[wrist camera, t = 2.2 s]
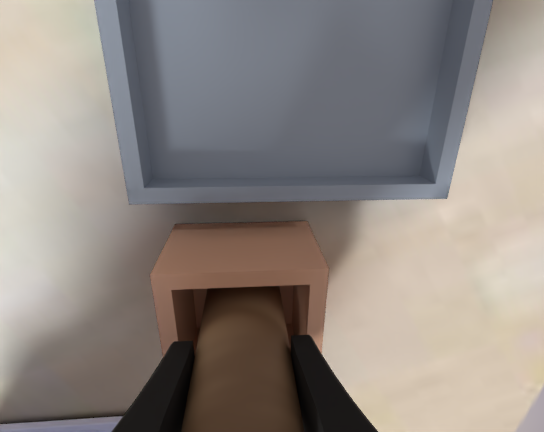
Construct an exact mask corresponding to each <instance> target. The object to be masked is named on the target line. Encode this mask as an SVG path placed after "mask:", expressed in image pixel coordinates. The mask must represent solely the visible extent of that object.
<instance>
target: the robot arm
mask: <svg viewBox="0 0 544 432" xmlns="http://www.w3.org/2000/svg"><path fill="white" fill-rule="evenodd" d="M290 352H291V358H292V364H293V369H294V375H295V381H296V386H297V392H298V398H299V404H300V409H301V415H302V421H303V427H304V432H378V431H377V430H376V429H375V427H374V426H373V425H372V424H371V423H370V421H369V420H368V419H367V418H366V416H365V415H364V414H363V413H362V411H361V410H360V409H359V408H358V406H357V405H356V404H355V402H354V401H353V400H352V398H351V397H350V396H349V394H348V393H347V392H346V390H345V389H344V387H343V386H342V384H341V383H340V382H339V380H338V379H337V377H336V376H335V374H334V373H333V371H332V370H331V368H330V367H329V365H328V364H327V362H326V360H325V359H324V357H323V356H322V354H321V352H320V351H319V349H318V347H317V345H316V344H315V342H314V340H313V338H312V337H311V336H310V335H291V350H290ZM194 359H195V355H194V346H193V341H174V342H173V343H172V344H171V345H170V347H169V348H168V350H167V352H166V354H165V355H164V357H163V359H162V360H161V362H160V363H159V365H158V367H157V368H156V370H155V371H154V373H153V374H152V376H151V378H150V379H149V381H148V382H147V383H146V385H145V386H144V388H143V389H142V391H141V392H140V394H139V395H138V397H137V398H136V399H135V401H134V402H133V404H132V405H131V406H130V408H129V409H128V410H127V412H126V413H125V414H124V416H115V417H101V418H86V419H71V420H57V421H42V422H27V423H12V424H0V432H181V430H182V424H183V419H184V413H185V408H186V402H187V397H188V391H189V386H190V381H191V375H192V370H193V364H194Z"/></svg>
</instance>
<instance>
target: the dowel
mask: <svg viewBox="0 0 544 432" xmlns="http://www.w3.org/2000/svg"><path fill="white" fill-rule="evenodd" d="M181 432H304V427H303V421H302V415H301V409H300V404H299V398H298V392H297V386H296V381H295V375H294V369H293V364H292V358H291V352H290V346H289V340H288V334H287V328H286V322H285V317H284V311H283V305H282V299H281V293H280V288H279V286H259V287H233V288H207V293H206V299H205V304H204V310H203V315H202V321H201V326H200V332H199V337H198V342H197V348H196V353H195V359H194V364H193V370H192V375H191V381H190V386H189V391H188V397H187V402H186V408H185V413H184V419H183V424H182V430H181Z"/></svg>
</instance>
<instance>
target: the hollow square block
mask: <svg viewBox="0 0 544 432" xmlns="http://www.w3.org/2000/svg"><path fill="white" fill-rule="evenodd" d="M328 275H329V267H328V265H327V263H326V261H325V259H324V257H323V254H322V252H321V250H320V248H319V246H318V244H317V241H316V239H315V237H314V235H313V233H312V230H311V228H310V226H309V224H308V222H307V221H291V222H248V223H204V224H175V225H174V227H173V229H172V231H171V233H170V235H169V237H168V239H167V241H166V243H165V245H164V247H163V250H162V252H161V254H160V256H159V258H158V260H157V262H156V264H155V266H154V268H153V270H152V272H151V274H150V279H151V285H152V291H153V298H154V304H155V310H156V317H157V323H158V329H159V335H160V342H161V348H162V354H163V357H164V355H165V354H166V352H167V350H168V348H169V347H170V345H171V344H172V343H173V342H174V341H193V346H194V355H195V353H196V348H197V342H198V337H199V332H200V326H201V321H202V315H203V310H204V304H205V299H206V293H207V288H233V287H259V286H279V288H280V293H281V299H282V305H283V311H284V317H285V322H286V328H287V334H288V340H289V346H290V350H291V335H310V336H311V337H312V338H313V340H314V342H315V344H316V345H317V347H318V349H319V351H320V352H321V353H322V341H323V330H324V319H325V308H326V297H327V286H328Z"/></svg>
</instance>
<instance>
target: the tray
mask: <svg viewBox="0 0 544 432" xmlns="http://www.w3.org/2000/svg"><path fill="white" fill-rule="evenodd" d="M94 2H95V8H96V14H97V20H98V25H99V31H100V37H101V43H102V49H103V55H104V60H105V66H106V72H107V78H108V84H109V90H110V95H111V101H112V107H113V113H114V119H115V125H116V130H117V136H118V142H119V148H120V154H121V159H122V165H123V171H124V177H125V183H126V189H127V194H128V200H129V204H177V203H232V202H288V201H343V200H398V199H447V197H448V193H449V189H450V184H451V180H452V176H453V171H454V167H455V163H456V158H457V154H458V150H459V145H460V141H461V137H462V132H463V128H464V124H465V119H466V115H467V111H468V106H469V102H470V98H471V93H472V89H473V85H474V80H475V76H476V72H477V68H478V63H479V59H480V55H481V50H482V46H483V42H484V37H485V33H486V29H487V24H488V20H489V16H490V11H491V7H492V3H493V0H94Z"/></svg>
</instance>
